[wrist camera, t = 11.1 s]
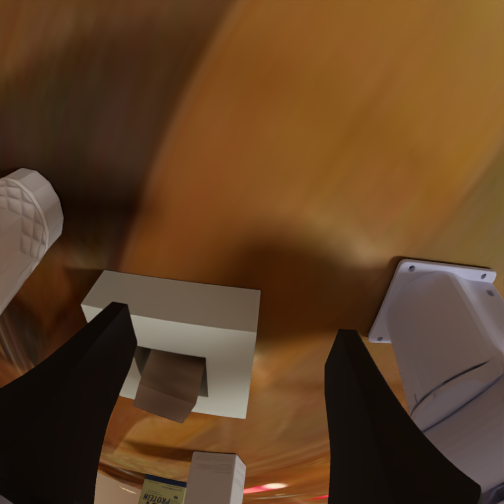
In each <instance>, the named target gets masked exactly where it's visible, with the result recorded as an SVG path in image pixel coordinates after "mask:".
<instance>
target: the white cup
mask: <svg viewBox="0 0 504 504" xmlns="http://www.w3.org/2000/svg"><path fill="white" fill-rule="evenodd" d="M63 219H64V217H63V213H62V208H61V204H60V200H59V198H58V196H57V194H56V192H55V191H54V189H53V187H52V186H51V184H50V182H49V181H48V180H46V179H45V178H44V177H43V176H42V175H41V174H39V173H38V172H37V171H35V170H30V169H26V168H21V169H19V170H17V171H15V172H13V173H11V174H9V175H7V176H5V177H3V178H1V179H0V315H1V314H2V312H3V311H4V309H5V308H6V307H7V305H8V304H9V302H10V301H11V300H12V298H13V297H14V296H15V294H16V293H17V292H18V291H19V289H20V288H21V287H22V285H23V284H24V282H25V280H26V279H27V278H28V277H29V276H30V275H31V273H32V272H33V270H34V269H35V267H36V266H37V265H38V264H39V263H40V261H41V260H42V257H43V256H44V254H45V253H46V252H47V250H48V249H49V248H50V247H51V246H52V245H53V244H54V242H55V241H56V240H57V239H58V237H59V236H60V235H61V233H62V226H63Z"/></svg>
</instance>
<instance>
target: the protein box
mask: <svg viewBox="0 0 504 504" xmlns="http://www.w3.org/2000/svg"><path fill="white" fill-rule="evenodd" d="M186 487H187V483H185V482H180V481H175V480H170V479H165V478H161V477H157V476H153V475H149V474H146V476H145V480H144V483H143V487H142V492H141V496H140V499H139V504H184V498H185V493H186Z"/></svg>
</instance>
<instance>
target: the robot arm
mask: <svg viewBox="0 0 504 504" xmlns="http://www.w3.org/2000/svg"><path fill="white" fill-rule="evenodd" d="M413 265H414V266H413ZM410 266H413V267H412V268H409V267H410ZM495 278H496V272H495V271H494V270H493V269H485V268H477V267H469V266H461V265H453V264H445V263H437V262H428V261H420V260H411V259H403V260H401V261H400V262H399V264H398V266H397V268H396V271H395V274H394V276H393V279H392V281H391V284H390V286H389V289H388V291H387V294H386V296H385V298H384V301H383V303H382V305H381V308H380V310H379V312H378V315H377V317H376V319H375V321H374V324H373V326H372V328H371V330H370V332H369V335H368V340H369V341H370V342H377V343H392V346H393V350H394V353H395V357H396V361H397V364H398V368H399V372H400V376H401V380H402V384H403V388H404V392H405V396H406V400H407V405H408V409H409V414H410V416H409V415H408V414H407V412H406V411H405V409H404V408H403V407H402V405H401V404H400V402H399V401H398V399H397V398H396V396H395V395H394V393H393V392H392V390H391V389H390V387H389V386H388V384H387V382H386V381H385V379H384V377H383V376H382V374H381V372H380V371H379V369H378V367H377V366H376V364H375V362H374V360H373V359H372V357H371V355H370V353H369V352H368V350H367V348H366V346H365V344H364V343H363V341H362V339H361V337H360V335H359V334H358V332H357V331H356V330H345V329H339V330H338V333H337V336H336V338H335V341H334V344H333V346H332V349H331V351H330V354H329V356H328V359H327V361H326V363H325V380H324V381H325V401H326V410H327V420H328V429H329V439H330V455H331V460H330V483H329V497H328V504H504V300H503V298H502V297H501V295H500V294H499V292H498V291H497V289H496V288H495V286H494V285H493V284H492V283H493V281H494V280H495ZM137 343H138V342H137V338H136V335H135V331H134V327H133V324H132V320H131V316H130V312H129V308H128V304H125V303H119V302H114V301H112V302H111V303H110V304H109V305H108V306H106V307H105V308H104V309H103V310H102V311H101V312H100V313H99V314H97V315H96V316H95V317H94V318H93V319H92V320H91V321H90V322H89V323H88V324H86V325H85V326H84V327H83V328H82V329H81V330H80V331H79V332H77V333H76V334H75V335H74V336H73V337H72V338H71V339H70V340H68V341H67V342H66V343H65V344H64V345H62V346H61V347H60V348H59V349H58V350H56V351H55V352H54V353H53V354H52V355H50V356H49V357H48V358H47V359H45V360H44V361H43V362H41V363H40V364H38V365H37V366H36V367H34V368H33V369H31V370H30V371H28V372H27V373H25V374H24V375H22V376H21V377H19V378H17V379H15V380H14V381H12V382H10V383H9V384H7V385H5V386H4V387H2V388H0V504H94V496H95V485H96V477H97V471H98V464H99V459H100V454H101V449H102V445H103V440H104V436H105V432H106V429H107V425H108V422H109V419H110V416H111V413H112V411H113V408H114V406H115V404H116V401H117V399H118V396H119V394H120V391H121V389H122V387H123V384H124V382H125V379H126V377H127V375H128V372H129V370H130V367H131V364H132V361H133V357H134V354H135V350H136V347H137Z"/></svg>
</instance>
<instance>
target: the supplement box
mask: <svg viewBox="0 0 504 504" xmlns="http://www.w3.org/2000/svg"><path fill="white" fill-rule="evenodd" d="M245 471H246V466H245V465H244V464H243V462H242V461H241V460H240V458H239V457H238V456H237V455H236V454H223V453H209V452H197V451H194V452H193V456H192V461H191V466H190V472H189V477H188V482H187V487H186V493H185V498H184V504H242V498H243V489H244V480H245Z"/></svg>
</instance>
